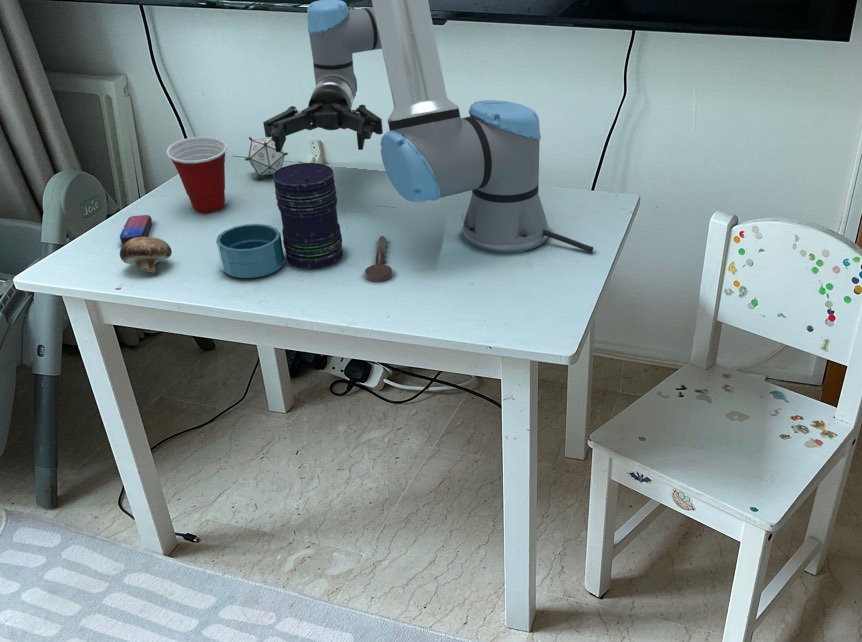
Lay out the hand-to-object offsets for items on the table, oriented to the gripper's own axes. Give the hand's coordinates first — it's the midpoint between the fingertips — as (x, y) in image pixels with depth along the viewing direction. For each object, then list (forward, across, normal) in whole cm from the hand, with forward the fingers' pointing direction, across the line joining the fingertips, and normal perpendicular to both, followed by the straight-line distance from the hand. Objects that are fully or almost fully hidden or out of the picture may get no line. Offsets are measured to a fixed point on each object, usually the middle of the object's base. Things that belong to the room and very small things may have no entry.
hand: (318, 143), depth 149 cm
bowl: (+8, +12, -18) cm, 23 cm away
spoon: (+8, -9, -18) cm, 22 cm away
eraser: (-6, +35, -18) cm, 40 cm away
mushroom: (+8, +30, -18) cm, 36 cm away
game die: (-33, +16, -18) cm, 41 cm away
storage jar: (+6, +2, -18) cm, 19 cm away
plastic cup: (-17, +25, -18) cm, 35 cm away
